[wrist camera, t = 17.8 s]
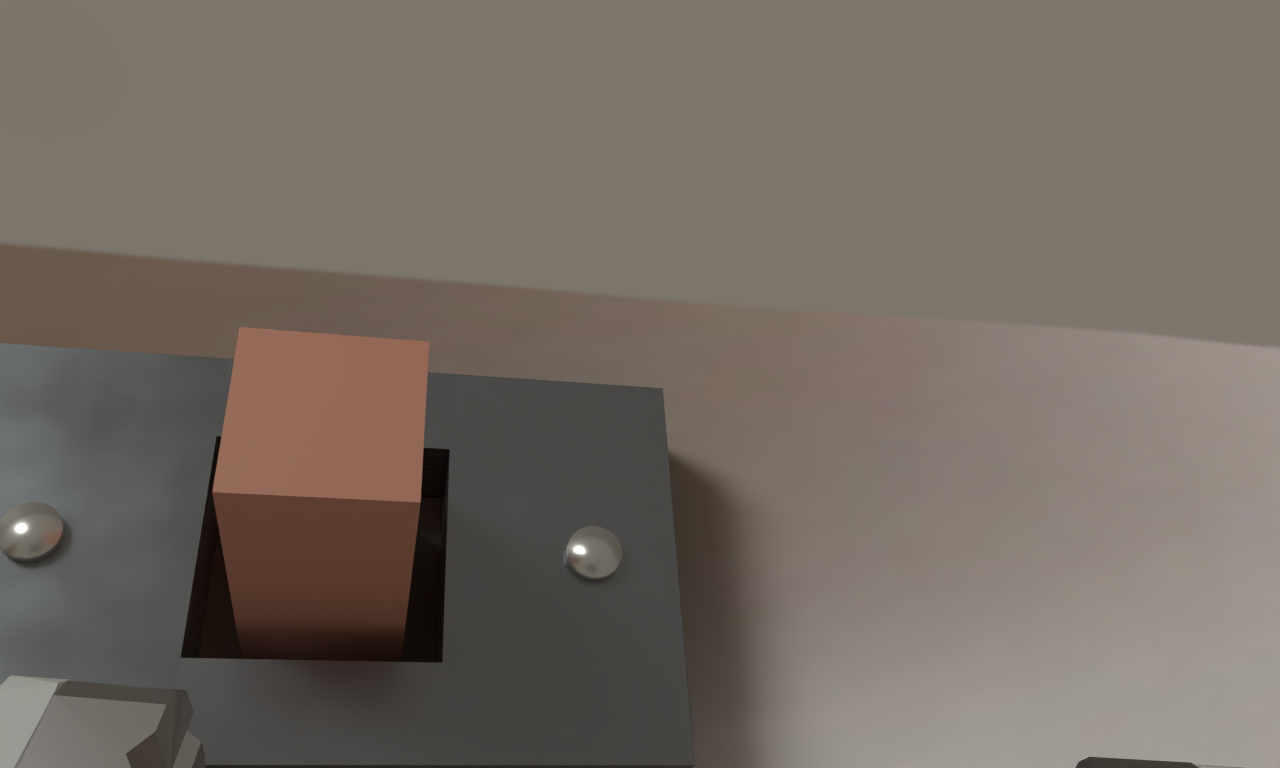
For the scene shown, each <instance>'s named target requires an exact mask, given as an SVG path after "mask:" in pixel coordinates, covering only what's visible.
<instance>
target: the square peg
mask: <svg viewBox="0 0 1280 768" xmlns="http://www.w3.org/2000/svg"><path fill="white" fill-rule="evenodd" d="M428 356H429V342H427V341H414V340H401V339H388V338H375V337H362V336H349V335H336V334H323V333H310V332H297V331H284V330H271V329H258V328H245V327H240V328H239V334H238V340H237V346H236V352H235V358H234V364H233V370H232V376H231V382H230V388H229V394H228V400H227V406H226V412H225V418H224V424H223V430H222V436H221V442H220V449H219V455H218V461H217V467H216V473H215V479H214V485H213V491H212V493H213V499H214V505H215V510H216V516H217V522H218V527H219V533H220V539H221V544H222V550H223V556H224V561H225V567H226V573H227V578H228V584H229V590H230V595H231V601H232V607H233V612H234V618H235V624H236V629H237V635H238V641H239V646H240V652H241V657H242V659H270V660H325V661H379V662H401V659H402V650H403V642H404V634H405V626H406V618H407V609H408V601H409V593H410V585H411V577H412V568H413V560H414V552H415V544H416V536H417V527H418V519H419V511H420V503H421V485H422V467H423V448H424V430H425V411H426V393H427V375H428Z"/></svg>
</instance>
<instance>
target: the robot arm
mask: <svg viewBox="0 0 1280 768" xmlns="http://www.w3.org/2000/svg"><path fill="white" fill-rule="evenodd" d="M193 713H194V712H193V709H192V706H191V703H190V700H189V697H188V693H187V690H178V689H166V688H154V687H142V686H130V685H118V684H106V683H94V682H83V681H73V680H69V679H55V678H41V677H26V676H12V675H11V676H10V677H8V678H7V679H6V680H5V681H4V682H3V683H2V684H1V685H0V768H205V755H204V751H203V746H202V742H201V741H200V740H199V739H197V738H196V737H195V736H194V735H192V734H191V733H190V732H188V731H187V728H188V726H189V723H190V720H191V718H192V715H193ZM1076 768H1244V767H1227V766H1210V765H1194V764H1193V763H1187V762H1170V761H1152V760H1135V759H1118V758H1100V757H1088V758H1086V759H1084V760H1082V761H1080V762H1079V763H1078V764H1077V766H1076Z"/></svg>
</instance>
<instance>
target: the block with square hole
mask: <svg viewBox="0 0 1280 768" xmlns="http://www.w3.org/2000/svg"><path fill="white" fill-rule="evenodd" d="M233 364H234V359H224V358H209V357H195V356H180V355H165V354H151V353H136V352H121V351H107V350H92V349H77V348H63V347H48V346H34V345H19V344H4V343H0V685H1V684H2V683H3V682H4V681H5V680H6V679H7V678H8V677H10V676H11V675H12V676H26V677H41V678H55V679H69V680H73V681H83V682H94V683H106V684H118V685H130V686H142V687H154V688H166V689H178V690H187V693H188V697H189V700H190V703H191V706H192V709H193V712H194V713H193V715H192V718H191V720H190V723H189V726H188V728H187V731H188V732H190V733H191V734H192V735H194V736H195V737H196V738H197V739H199V740H200V741H201V742H202V746H203V751H204V755H205V768H692V767H693V766H694V755H693V743H692V731H691V719H690V708H689V696H688V684H687V672H686V660H685V648H684V636H683V624H682V613H681V601H680V589H679V577H678V565H677V553H676V541H675V530H674V518H673V506H672V494H671V482H670V470H669V458H668V446H667V435H666V423H665V411H664V399H663V388H649V387H634V386H619V385H605V384H590V383H575V382H561V381H546V380H532V379H517V378H502V377H488V376H473V375H458V374H444V373H429V372H428V375H427V393H426V411H425V430H424V448H423V467H422V485H421V496H428V497H442V519H441V546H440V573H439V600H438V627H437V653H436V663H433V662H379V661H325V660H270V659H216V658H198V656H199V649H200V643H201V636H202V630H203V623H204V617H205V610H206V604H207V597H208V590H209V584H210V577H211V571H212V564H213V558H214V551H215V545H216V538H217V532H218V522H217V516H216V510H215V505H214V499H213V493H212V491H213V485H214V479H215V473H216V467H217V461H218V455H219V449H220V442H221V436H222V430H223V424H224V418H225V412H226V406H227V400H228V394H229V388H230V382H231V376H232V370H233Z"/></svg>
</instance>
